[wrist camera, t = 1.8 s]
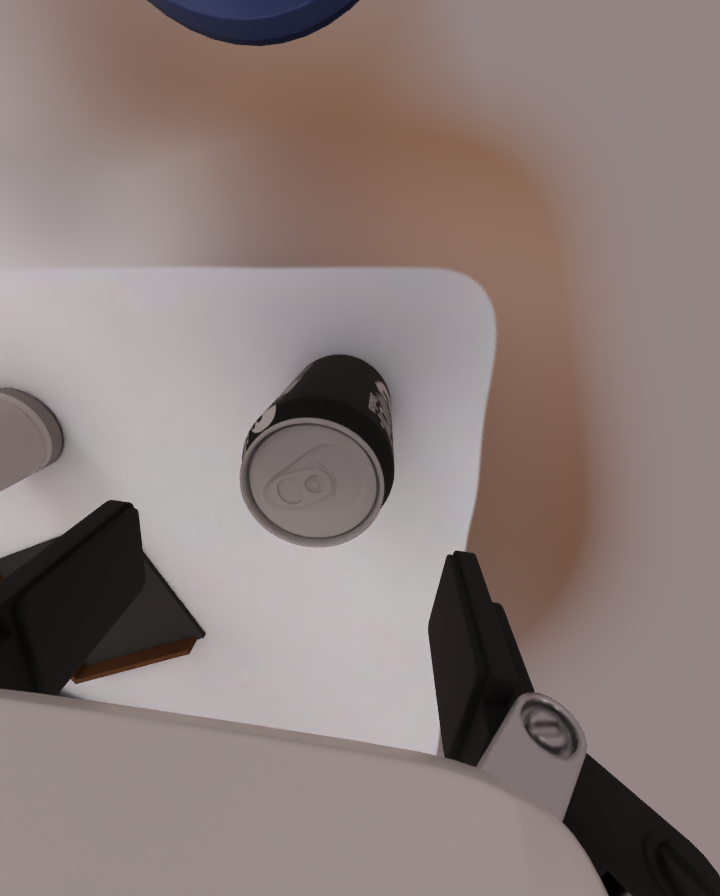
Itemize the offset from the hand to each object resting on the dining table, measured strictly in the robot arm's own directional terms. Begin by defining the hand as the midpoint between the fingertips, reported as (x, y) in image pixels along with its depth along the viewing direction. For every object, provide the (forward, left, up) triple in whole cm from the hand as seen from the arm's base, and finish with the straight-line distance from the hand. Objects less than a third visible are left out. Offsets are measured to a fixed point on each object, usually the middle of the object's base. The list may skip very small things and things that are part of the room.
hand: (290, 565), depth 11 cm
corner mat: (+9, -28, -16) cm, 33 cm away
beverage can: (0, 0, -16) cm, 16 cm away
